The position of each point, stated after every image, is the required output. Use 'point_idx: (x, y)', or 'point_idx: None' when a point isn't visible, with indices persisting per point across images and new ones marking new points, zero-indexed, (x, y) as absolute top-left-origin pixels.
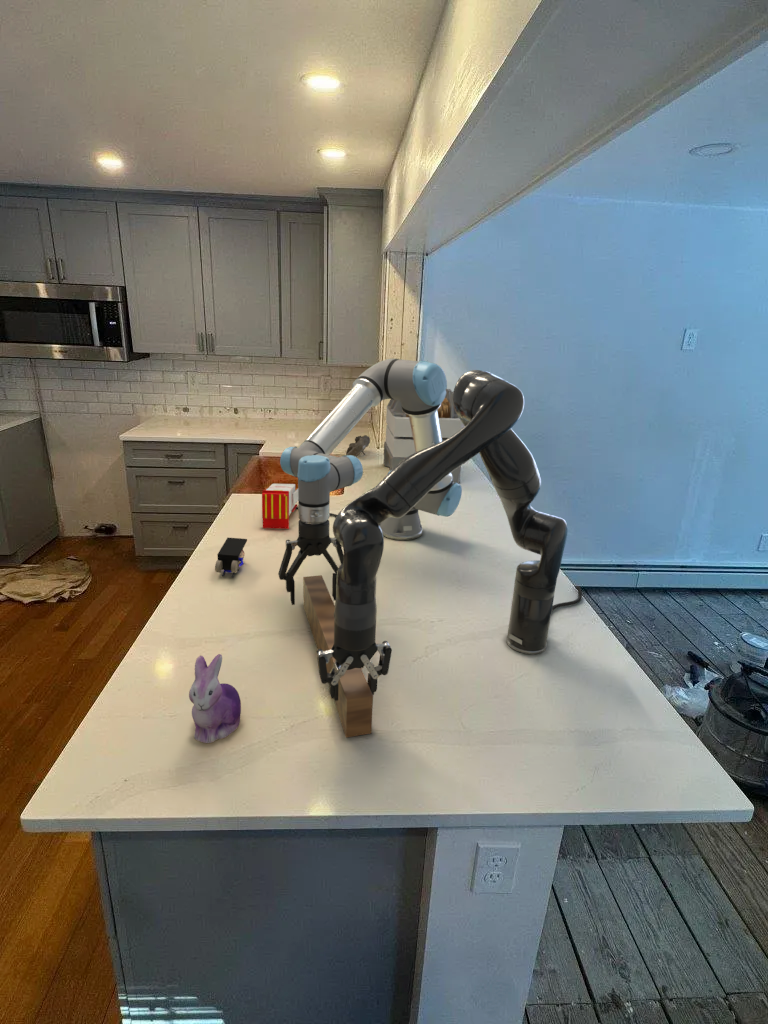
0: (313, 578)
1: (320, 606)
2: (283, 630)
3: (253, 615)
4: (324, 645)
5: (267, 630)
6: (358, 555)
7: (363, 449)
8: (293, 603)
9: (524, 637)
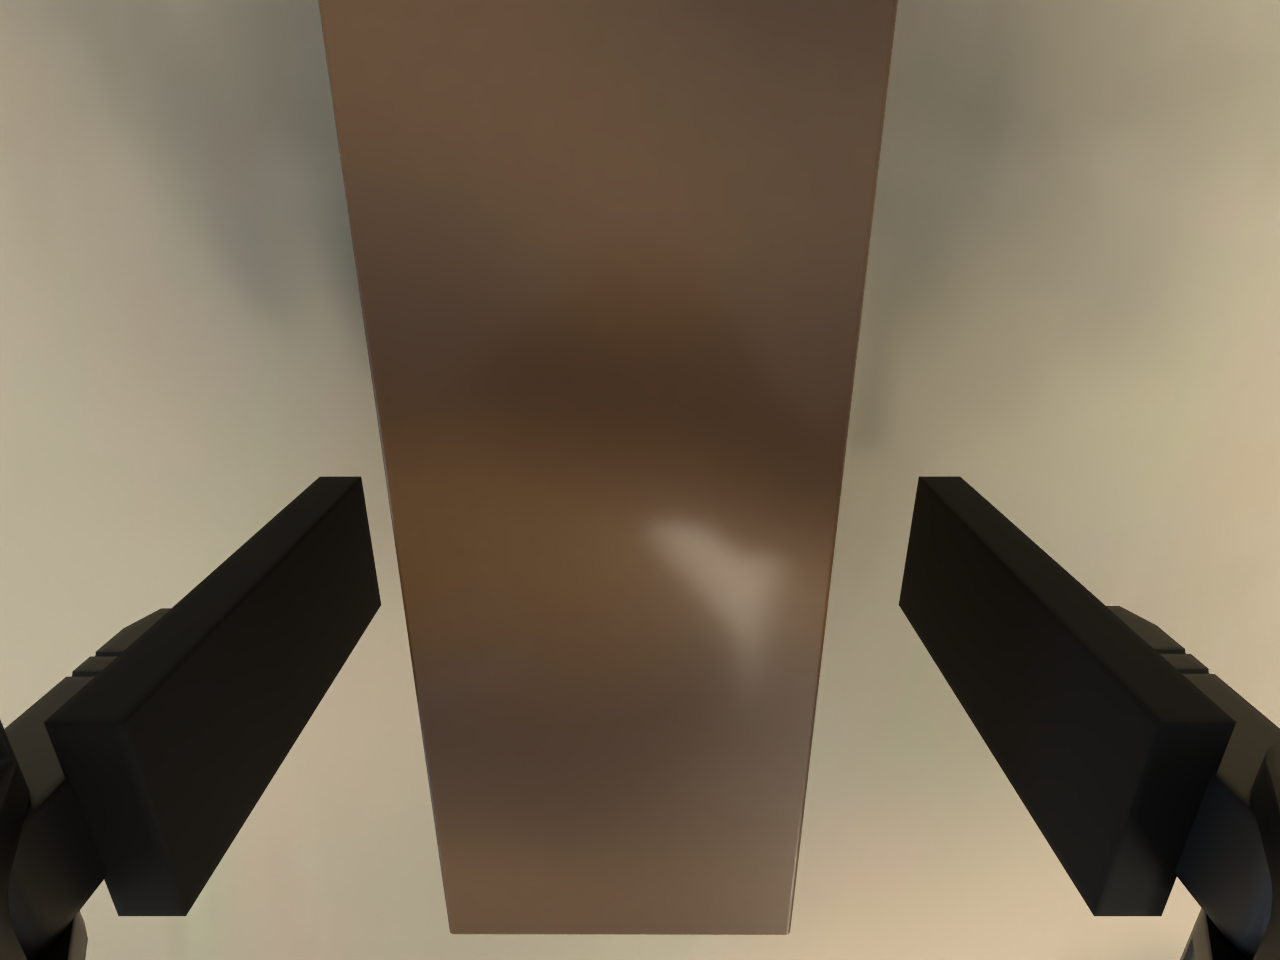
0: (618, 861)
1: None
2: (1085, 132)
3: (1269, 533)
4: None
5: (1263, 179)
6: None
7: None
8: (945, 486)
9: None
